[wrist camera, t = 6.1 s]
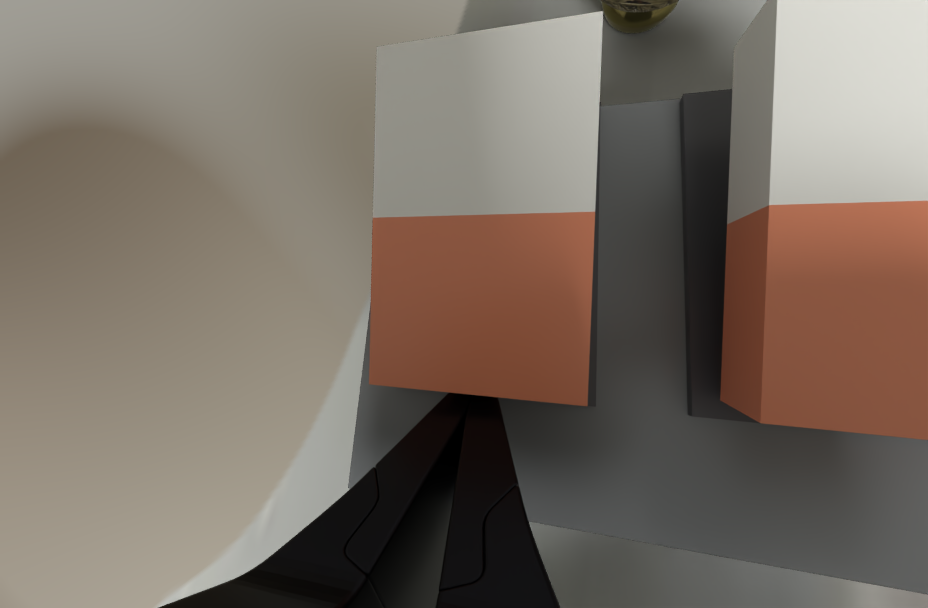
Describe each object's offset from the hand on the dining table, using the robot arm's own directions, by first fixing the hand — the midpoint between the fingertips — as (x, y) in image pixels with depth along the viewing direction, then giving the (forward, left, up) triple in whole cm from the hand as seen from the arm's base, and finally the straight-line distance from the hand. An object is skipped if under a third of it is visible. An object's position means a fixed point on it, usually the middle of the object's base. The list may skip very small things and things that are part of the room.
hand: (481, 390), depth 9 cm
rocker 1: (+4, 0, +1) cm, 4 cm away
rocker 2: (+4, -8, +1) cm, 9 cm away
